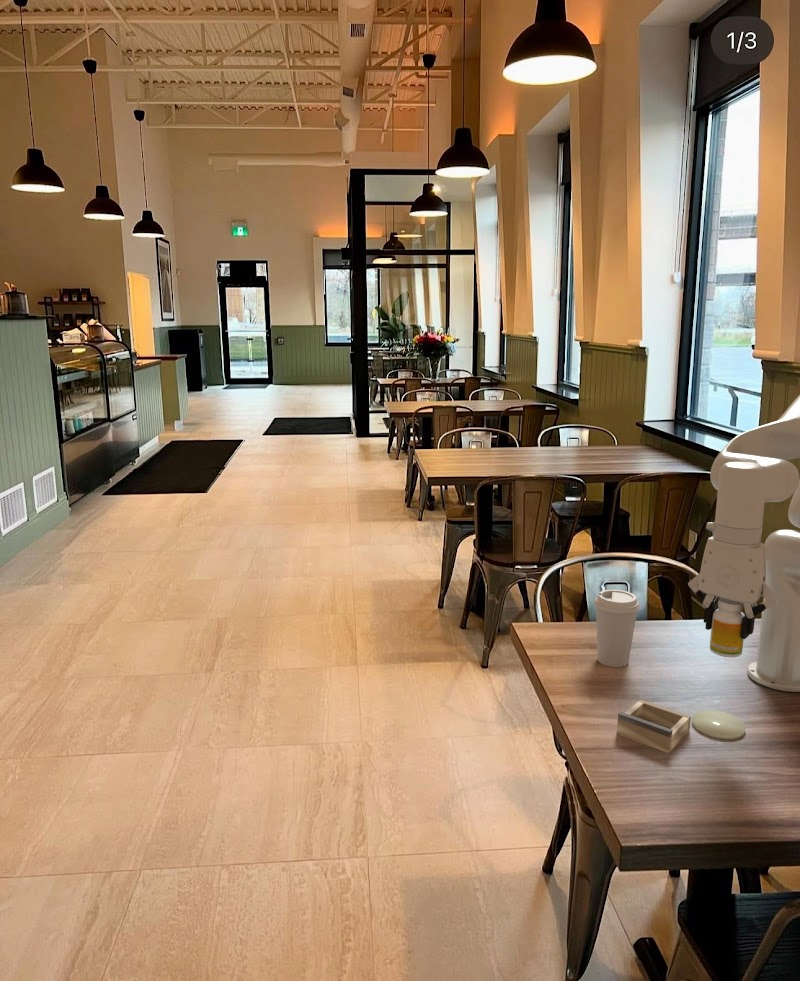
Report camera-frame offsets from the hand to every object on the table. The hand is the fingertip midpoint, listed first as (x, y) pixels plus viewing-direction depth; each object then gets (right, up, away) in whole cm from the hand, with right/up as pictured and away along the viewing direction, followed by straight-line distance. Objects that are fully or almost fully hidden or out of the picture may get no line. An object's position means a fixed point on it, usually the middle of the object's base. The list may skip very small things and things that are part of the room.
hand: (727, 631), depth 136 cm
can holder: (-13, -19, +2) cm, 23 cm away
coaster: (0, -18, +4) cm, 19 cm away
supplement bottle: (0, -4, +1) cm, 4 cm away
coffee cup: (-12, -12, +31) cm, 35 cm away
